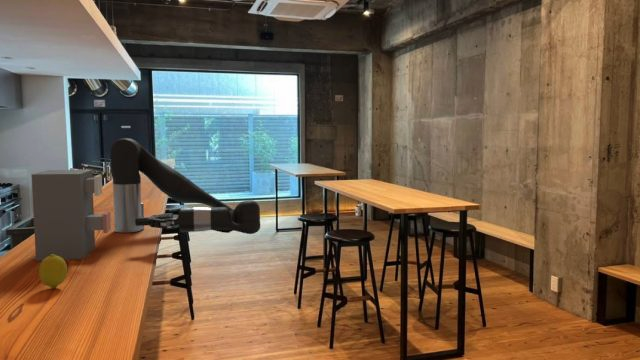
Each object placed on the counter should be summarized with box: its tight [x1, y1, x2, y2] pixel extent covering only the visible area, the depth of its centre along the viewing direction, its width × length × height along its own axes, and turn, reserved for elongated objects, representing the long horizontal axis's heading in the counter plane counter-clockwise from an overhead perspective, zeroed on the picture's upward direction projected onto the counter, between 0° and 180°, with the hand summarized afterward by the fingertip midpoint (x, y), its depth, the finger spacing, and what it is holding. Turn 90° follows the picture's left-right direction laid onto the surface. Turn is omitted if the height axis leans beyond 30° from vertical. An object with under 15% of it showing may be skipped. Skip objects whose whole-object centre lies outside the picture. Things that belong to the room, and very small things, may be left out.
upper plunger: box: [85, 174, 103, 197], centre depth 134 cm, size 9×6×6 cm, turn 104°
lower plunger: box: [86, 210, 112, 234], centre depth 136 cm, size 9×6×6 cm, turn 104°
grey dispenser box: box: [31, 169, 96, 262], centre depth 134 cm, size 12×14×24 cm
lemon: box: [38, 254, 68, 289], centre depth 105 cm, size 6×6×8 cm
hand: (135, 221), depth 139 cm, fingers closed
